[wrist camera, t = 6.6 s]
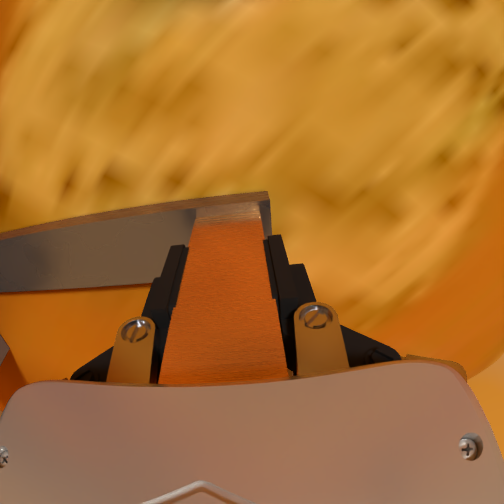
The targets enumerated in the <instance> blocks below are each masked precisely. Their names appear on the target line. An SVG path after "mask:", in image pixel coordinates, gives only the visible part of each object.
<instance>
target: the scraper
mask: <svg viewBox="0 0 504 504" xmlns="http://www.w3.org/2000/svg"><path fill="white" fill-rule="evenodd" d="M270 235H272V228H271V212H270V199H269V196H268V192H267V191H264V192H253V193H243V194H233V195H223V196H214V197H206V198H198V199H189V200H182V201H174V202H167V203H160V204H153V205H146V206H139V207H133V208H126V209H120V210H114V211H108V212H102V213H97V214H91V215H85V216H80V217H75V218H69V219H64V220H59V221H54V222H49V223H45V224H40V225H35V226H30V227H26V228H21V229H17V230H13V231H8V232H4V233H0V292H17V291H36V290H54V289H71V288H86V287H101V286H115V285H129V284H142V283H152V282H153V280H154V278H156V277H160V276H161V273H162V270H163V267H164V264H165V261H166V258H167V255H168V252H169V250H170V247H171V246H172V245H182V244H184V245H185V247H189V250H188V254H187V258H186V263H185V267H184V271H183V275H182V279H181V284H180V288H179V293H178V297H177V302H176V306H175V308H173V312H172V316H171V321H170V325H169V330H168V335H167V340H166V345H165V350H164V355H163V360H162V365H161V371H160V376H159V382H158V384H197V383H221V382H237V381H250V380H262V379H272V378H282V377H289V376H288V371H287V364H286V358H285V352H284V346H283V340H282V334H281V328H280V323H279V317H278V311H277V305H276V299H272V293H271V287H270V281H269V275H268V269H267V263H266V257H265V251H264V245H263V240H265V239H267V236H270Z"/></svg>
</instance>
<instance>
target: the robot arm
mask: <svg viewBox="0 0 504 504" xmlns="http://www.w3.org/2000/svg"><path fill="white" fill-rule="evenodd" d="M263 245H264V251H265V257H266V263H267V269H268V275H269V281H270V287H271V293H272V299H276V305H277V311H278V317H279V323H280V328H281V334H282V340H283V346H284V352H285V358H286V364H287V368H288V369H290V370H291V371H293V376H291V377H282V378H272V379H262V380H250V381H237V382H221V383H197V384H158V382H159V376H160V371H161V365H162V360H163V355H164V350H165V345H166V340H167V335H168V330H169V325H170V321H171V316H172V312H173V308H175V306H176V302H177V297H178V293H179V288H180V284H181V279H182V275H183V271H184V267H185V263H186V258H187V254H188V250H189V247H185V245H184V244H182V245H172V246H171V247H170V250H169V252H168V255H167V258H166V261H165V264H164V267H163V270H162V273H161V276H160V277H156V278H154V280H153V282H152V285H151V288H150V291H149V294H148V297H147V300H146V303H145V306H144V309H143V312H142V315H141V317H134V318H131V319H129V320H127V321H126V322H124V323H123V324H122V325H121V326H120V327H119V329H118V332H117V335H116V339H115V343H114V346H113V347H111V348H110V349H108V350H106V351H105V352H103V353H102V354H100V355H99V356H97V357H96V358H94V359H93V360H91V361H90V362H88V363H87V364H85V365H84V366H82V367H81V368H79V369H78V370H77V371H75V372H74V373H73V375H72V376H71V378H70V380H68V379H67V378H65V379H62V380H45V381H38V382H34V383H31V384H28V385H25V386H23V387H21V388H19V389H18V390H17V391H16V392H15V393H14V394H13V395H12V397H11V398H10V400H9V401H8V403H7V405H6V407H5V409H4V411H3V413H2V415H1V417H0V504H504V460H503V458H502V455H501V452H500V449H499V447H498V444H497V441H496V439H495V436H494V434H493V431H492V429H491V427H490V424H489V422H488V420H487V418H486V416H485V414H484V412H483V410H482V408H481V406H480V404H479V402H478V400H477V399H476V397H475V395H474V393H473V391H472V390H471V388H470V387H469V385H468V384H467V375H466V371H465V370H464V368H463V367H462V366H461V365H460V364H458V363H456V362H453V361H448V360H441V359H434V358H427V357H421V356H415V355H409V354H407V355H406V357H401V356H400V355H399V354H398V352H397V351H396V350H394V349H393V348H391V347H389V346H387V345H385V344H382V343H380V342H378V341H376V340H373V339H371V338H369V337H367V336H364V335H362V334H360V333H358V332H355V331H353V330H351V329H349V328H347V327H344V326H342V325H340V323H339V319H338V315H337V313H336V311H335V310H334V309H333V308H332V307H331V306H329V305H327V304H325V303H321V302H316V299H315V296H314V293H313V290H312V287H311V284H310V281H309V278H308V275H307V272H306V269H305V266H304V264H303V263H302V264H292V265H289V262H288V258H287V255H286V251H285V248H284V244H283V240H282V237H281V235H270V236H267V239H265V240H263Z"/></svg>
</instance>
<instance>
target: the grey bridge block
mask: <svg viewBox="0 0 504 504" xmlns="http://www.w3.org/2000/svg"><path fill="white" fill-rule="evenodd" d="M9 349H10V348H9V347H8V345H7V344H6V342H5V341H4V340H3V338H2V337H1V335H0V365H1V363H2V361H3V360H4V358H5V356H6V354H7V352H8V350H9Z"/></svg>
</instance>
